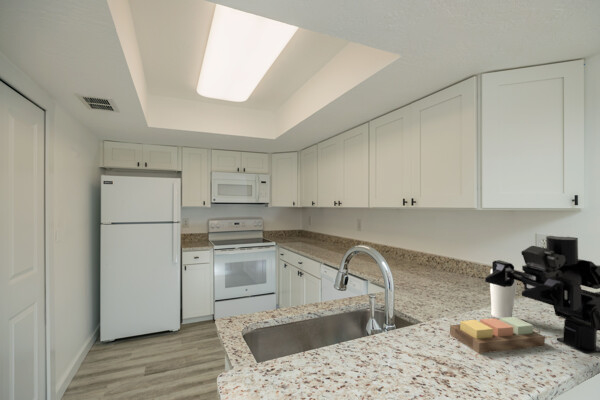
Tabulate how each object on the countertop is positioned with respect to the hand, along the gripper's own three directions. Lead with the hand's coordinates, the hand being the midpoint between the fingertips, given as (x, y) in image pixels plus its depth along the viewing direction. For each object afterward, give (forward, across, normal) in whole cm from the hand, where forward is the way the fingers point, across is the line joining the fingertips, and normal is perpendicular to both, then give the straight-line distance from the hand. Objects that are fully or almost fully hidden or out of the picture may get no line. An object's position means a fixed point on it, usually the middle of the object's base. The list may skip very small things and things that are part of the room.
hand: (502, 286), depth 64 cm
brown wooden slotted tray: (-4, -5, +17) cm, 18 cm away
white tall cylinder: (-18, -16, +19) cm, 31 cm away
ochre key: (+3, -5, +15) cm, 16 cm away
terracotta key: (-4, -5, +15) cm, 16 cm away
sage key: (-10, -5, +16) cm, 20 cm away
